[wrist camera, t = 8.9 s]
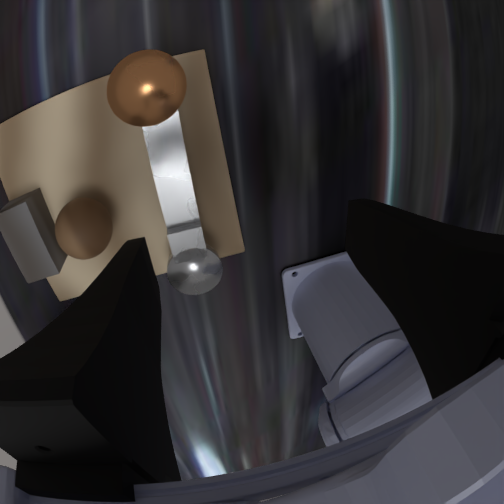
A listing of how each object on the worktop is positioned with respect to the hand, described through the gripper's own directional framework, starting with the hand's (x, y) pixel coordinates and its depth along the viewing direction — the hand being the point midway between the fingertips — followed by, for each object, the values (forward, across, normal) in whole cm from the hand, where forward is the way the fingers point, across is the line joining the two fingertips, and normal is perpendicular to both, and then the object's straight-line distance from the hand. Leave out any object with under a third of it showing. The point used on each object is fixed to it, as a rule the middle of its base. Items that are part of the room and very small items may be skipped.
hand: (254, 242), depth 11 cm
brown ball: (+8, +7, +1) cm, 10 cm away
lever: (+9, +3, 0) cm, 9 cm away
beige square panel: (+10, +7, 0) cm, 12 cm away
